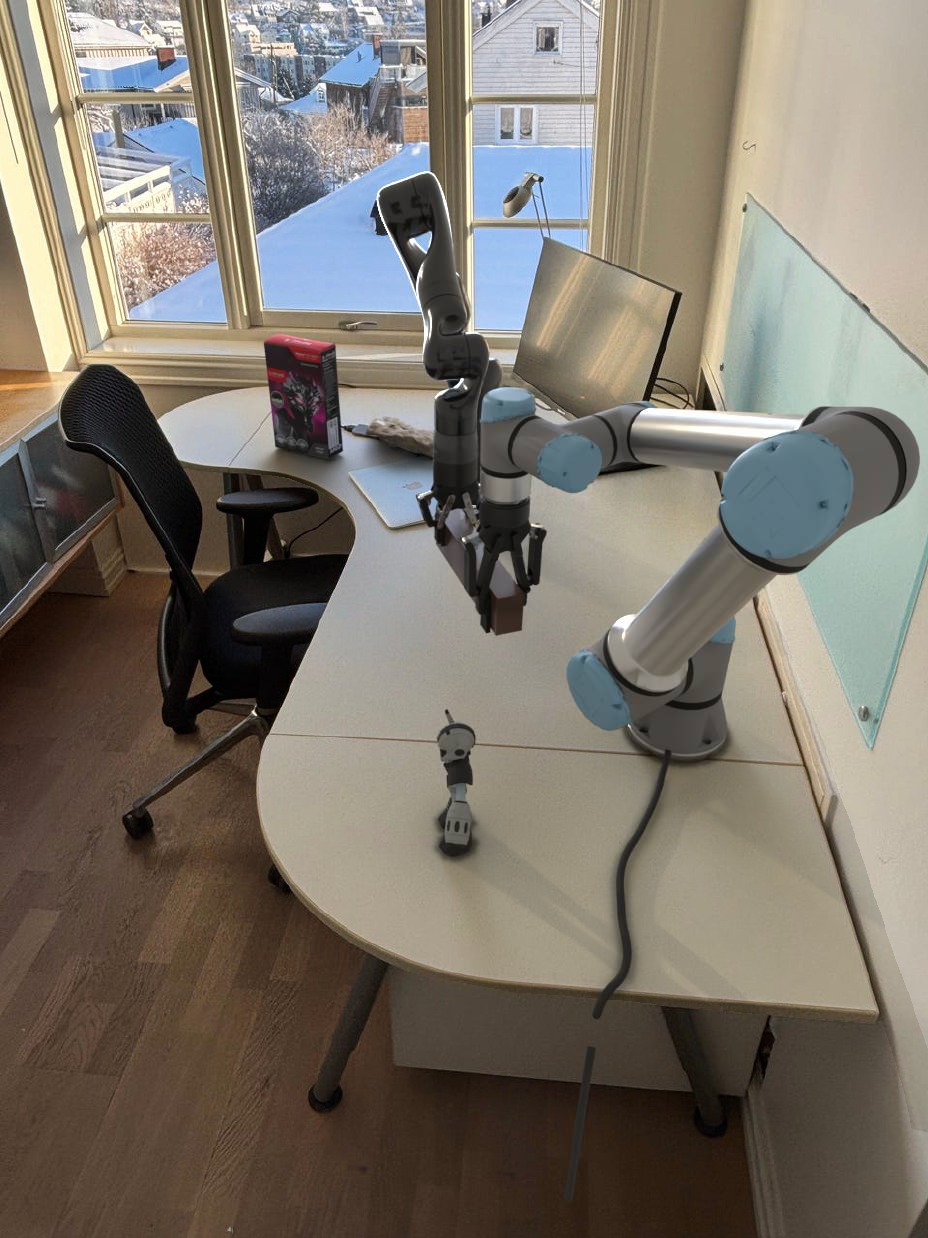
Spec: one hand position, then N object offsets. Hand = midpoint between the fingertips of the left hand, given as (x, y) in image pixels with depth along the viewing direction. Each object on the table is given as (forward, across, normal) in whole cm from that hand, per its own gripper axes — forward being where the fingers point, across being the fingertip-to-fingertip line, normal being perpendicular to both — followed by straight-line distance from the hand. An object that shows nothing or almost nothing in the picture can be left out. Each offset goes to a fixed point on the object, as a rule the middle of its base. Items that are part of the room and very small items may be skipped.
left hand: (454, 541), depth 164 cm
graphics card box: (+14, +11, -79) cm, 81 cm away
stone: (+14, -12, -74) cm, 76 cm away
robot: (+14, +18, +53) cm, 58 cm away
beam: (+3, 0, +11) cm, 11 cm away
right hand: (+4, 0, +22) cm, 23 cm away
